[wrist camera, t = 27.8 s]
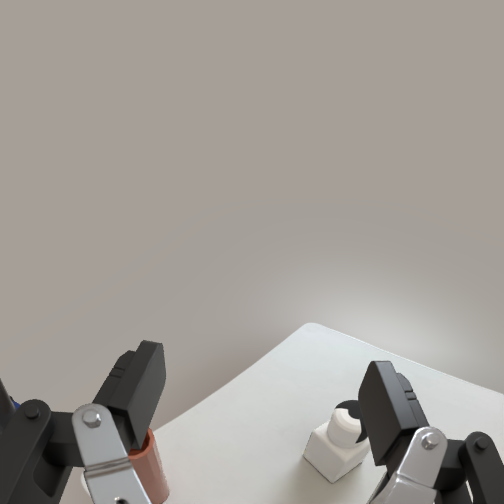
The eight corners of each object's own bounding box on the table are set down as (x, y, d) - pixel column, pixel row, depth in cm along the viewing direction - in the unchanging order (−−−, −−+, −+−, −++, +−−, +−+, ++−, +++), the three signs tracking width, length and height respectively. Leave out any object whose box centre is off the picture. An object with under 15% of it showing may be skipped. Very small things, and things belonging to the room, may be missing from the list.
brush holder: (137, 509, 27) (109, 464, 22) (125, 478, 31) (98, 423, 26) (175, 500, 30) (161, 453, 25) (160, 470, 34) (145, 414, 29)
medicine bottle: (334, 435, 43) (355, 387, 39) (363, 460, 37) (391, 414, 33) (301, 455, 39) (319, 408, 35) (331, 484, 34) (358, 441, 29)
